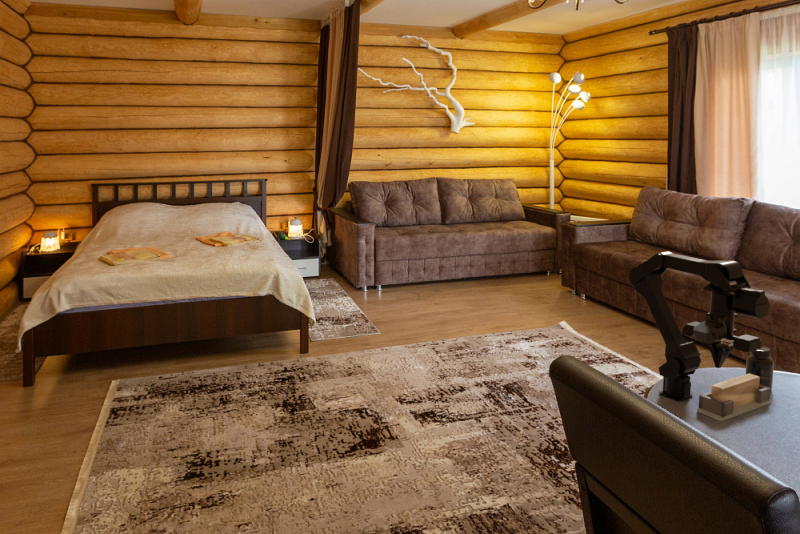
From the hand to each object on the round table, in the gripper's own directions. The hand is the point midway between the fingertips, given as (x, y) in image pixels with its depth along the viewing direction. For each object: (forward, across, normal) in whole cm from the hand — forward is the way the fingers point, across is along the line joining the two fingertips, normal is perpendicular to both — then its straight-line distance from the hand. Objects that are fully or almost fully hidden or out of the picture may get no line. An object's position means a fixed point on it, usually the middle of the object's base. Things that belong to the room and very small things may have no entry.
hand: (718, 367), depth 163 cm
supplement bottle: (+12, -3, +24) cm, 27 cm away
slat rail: (+12, +2, +6) cm, 14 cm away
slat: (+11, +2, +6) cm, 13 cm away
